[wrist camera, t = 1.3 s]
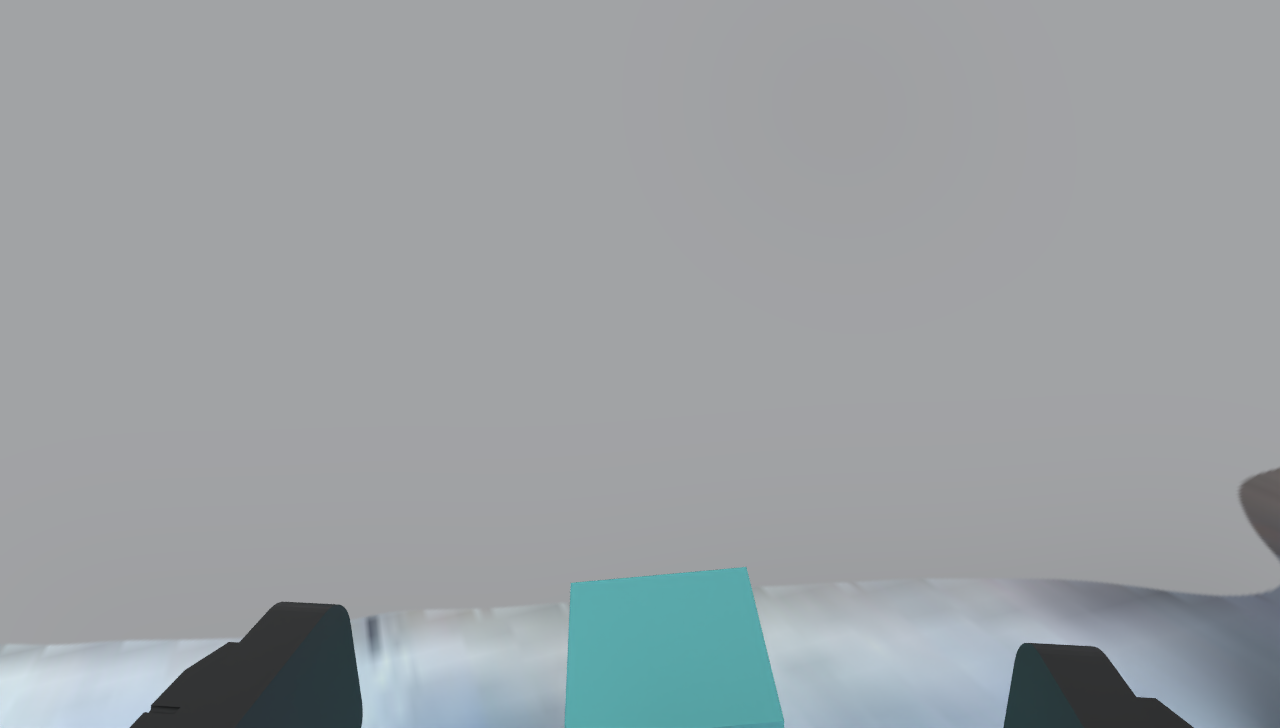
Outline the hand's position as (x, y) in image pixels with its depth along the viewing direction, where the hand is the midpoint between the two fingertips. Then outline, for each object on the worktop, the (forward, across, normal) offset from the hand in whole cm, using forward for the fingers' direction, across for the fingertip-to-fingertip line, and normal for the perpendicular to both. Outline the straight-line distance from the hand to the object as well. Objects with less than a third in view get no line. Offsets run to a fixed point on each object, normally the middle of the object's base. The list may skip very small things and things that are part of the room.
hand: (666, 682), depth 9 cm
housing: (+12, 0, +18) cm, 22 cm away
